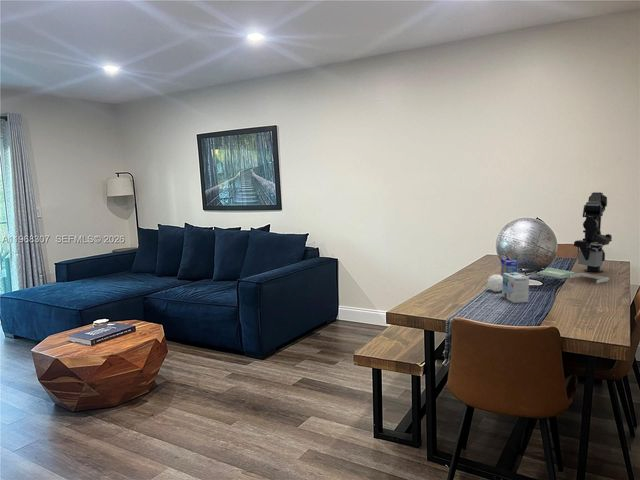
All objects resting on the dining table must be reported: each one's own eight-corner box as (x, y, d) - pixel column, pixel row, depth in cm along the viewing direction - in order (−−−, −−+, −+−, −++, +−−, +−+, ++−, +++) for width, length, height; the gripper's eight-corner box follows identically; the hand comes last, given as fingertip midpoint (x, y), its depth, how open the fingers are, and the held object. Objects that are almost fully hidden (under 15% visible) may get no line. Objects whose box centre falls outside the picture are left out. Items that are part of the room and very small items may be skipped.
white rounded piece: (491, 280, 220) (517, 286, 213) (485, 292, 216) (511, 299, 209) (490, 269, 215) (517, 275, 208) (483, 281, 211) (510, 288, 204)
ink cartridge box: (499, 281, 231) (500, 253, 229) (511, 281, 231) (512, 253, 229) (505, 286, 222) (506, 256, 220) (517, 286, 221) (518, 256, 219)
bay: (581, 275, 240) (581, 272, 240) (609, 280, 228) (609, 277, 228) (570, 278, 236) (570, 275, 235) (597, 283, 223) (597, 280, 223)
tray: (548, 271, 253) (548, 267, 253) (574, 276, 240) (574, 272, 239) (535, 273, 248) (535, 269, 247) (561, 278, 235) (561, 274, 234)
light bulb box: (501, 296, 204) (502, 272, 203) (516, 295, 205) (517, 271, 203) (513, 303, 194) (514, 277, 192) (529, 302, 194) (529, 277, 193)
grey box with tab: (584, 262, 236) (585, 245, 234) (601, 265, 228) (602, 248, 226) (577, 264, 233) (578, 246, 232) (595, 266, 225) (596, 249, 224)
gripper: (596, 231, 217) (594, 264, 219) (619, 228, 225) (617, 260, 227) (573, 229, 226) (572, 260, 228) (597, 226, 235) (595, 257, 237)
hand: (590, 259), depth 230 cm, fingers closed on grey box with tab, 5 cm apart
